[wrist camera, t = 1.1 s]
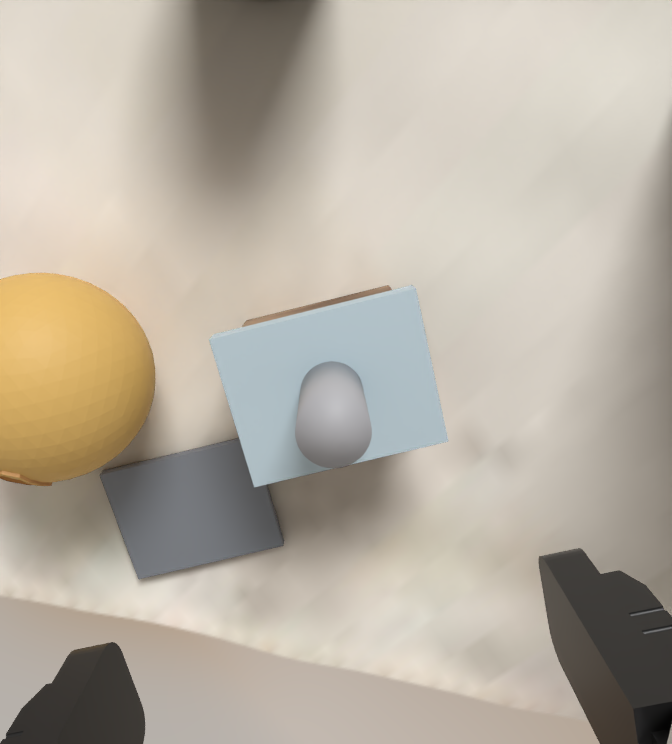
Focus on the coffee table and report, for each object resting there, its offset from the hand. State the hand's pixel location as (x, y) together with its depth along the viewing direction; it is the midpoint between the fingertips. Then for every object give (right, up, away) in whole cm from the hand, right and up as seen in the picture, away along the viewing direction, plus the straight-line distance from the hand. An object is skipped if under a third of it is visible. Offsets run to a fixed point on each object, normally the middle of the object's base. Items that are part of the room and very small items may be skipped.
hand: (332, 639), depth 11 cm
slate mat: (-8, -3, +25) cm, 27 cm away
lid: (0, +4, +17) cm, 18 cm away
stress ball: (-14, +6, +23) cm, 27 cm away
